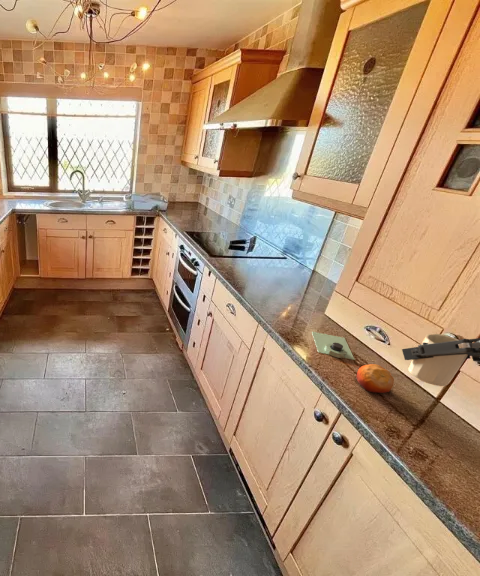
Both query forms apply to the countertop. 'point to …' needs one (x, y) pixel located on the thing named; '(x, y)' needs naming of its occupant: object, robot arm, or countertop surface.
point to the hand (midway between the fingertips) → (421, 354)
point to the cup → (437, 364)
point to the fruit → (375, 378)
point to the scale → (326, 342)
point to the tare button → (337, 347)
